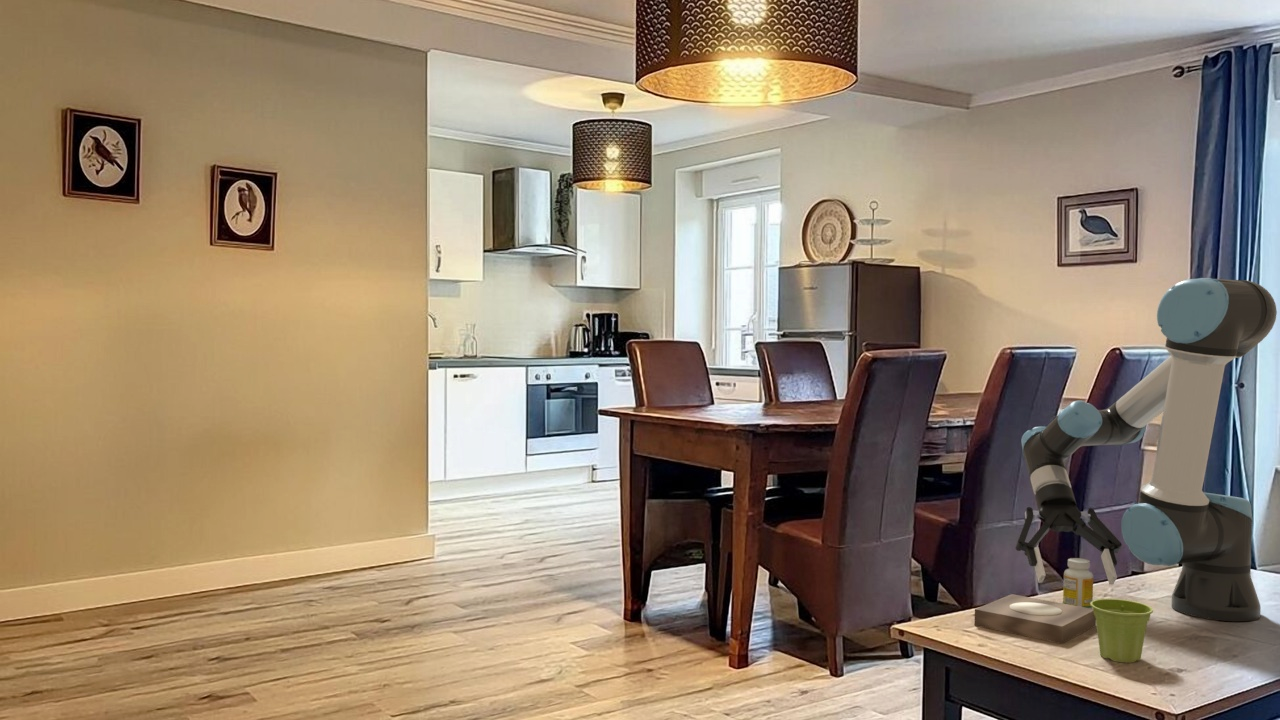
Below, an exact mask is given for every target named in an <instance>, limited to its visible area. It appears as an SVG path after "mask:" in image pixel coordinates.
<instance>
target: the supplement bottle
mask: <svg viewBox="0 0 1280 720" xmlns="http://www.w3.org/2000/svg"><path fill="white" fill-rule="evenodd" d="M1067 567H1068V568H1066V569H1065V570H1064V572H1063V585H1062V587H1063V588H1062V589H1063V590H1062V591H1063V592H1062V603H1063V604H1069V605H1074V606H1080V607H1085V608H1091V609H1093V608H1092V607H1091V605H1090V603H1091V602H1092V601H1094V599H1093V598H1094V597H1093V596H1094V595H1093V594H1094V574H1093V572H1092V571H1090V570H1089V569H1090V568H1091V561H1090V560H1089V559H1086V558H1080V557H1070V558H1068V559H1067Z"/></svg>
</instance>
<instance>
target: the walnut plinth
mask: <svg viewBox="0 0 1280 720" xmlns="http://www.w3.org/2000/svg"><path fill="white" fill-rule="evenodd" d="M974 626H975V627H981V628H985V629H989V628H990V629H991V630H996V631H1001V632H1004V631H1005V633H1009V634H1013V635H1020V636H1024V637H1029V638H1032V639H1039V640H1043V641H1047V642H1052V643H1056V644H1057V643H1058V644H1062V645H1063V644H1064V643H1066V642H1067V641H1070V640H1072V639H1074V638H1076V637H1077V636H1080V635H1081V634H1083V633H1085V632H1087V631H1088V630H1091V629H1092V628H1094V627H1097V624H1096V617H1095V615H1094V611H1093V608H1092V609H1091V608H1085V607H1080V606H1074V605H1069V604H1063V602H1058V601H1051V600H1045V599H1041V598H1036V597H1028V596H1024V595H1020V594H1019V595H1018V594H1013V593H1012V594H1009V595H1006V596H1004V597H1001V598H998V599H997V600H994V601H991V602H989V603H987V604H984V605H981V606H979V607H977V608H974Z"/></svg>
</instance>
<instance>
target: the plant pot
mask: <svg viewBox="0 0 1280 720" xmlns="http://www.w3.org/2000/svg"><path fill="white" fill-rule="evenodd" d="M1090 605H1091V607H1092V609H1093V611H1094V615H1095V617H1096V631H1097V639H1098V645H1099V646H1098V648H1099V654H1100V656H1101V658H1104V659H1110V660H1111V661H1113V662H1115V663H1116V662H1117V663H1126V664H1132V663H1135V662H1136V661H1137V662H1138V661H1141V659H1142V654H1143V647H1144V642H1145V635H1146V631H1147V624H1148V622H1149V621H1150V618H1151V614H1153V613H1154V609H1153V607H1152V606H1150V605H1148V604H1145V603H1142V602H1138V601H1135V600H1127V599H1121V598H1120V599H1119V598H1101V599H1100V598H1099V599H1093V601H1092V602H1091V603H1090Z"/></svg>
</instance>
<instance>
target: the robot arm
mask: <svg viewBox="0 0 1280 720" xmlns="http://www.w3.org/2000/svg"><path fill="white" fill-rule="evenodd" d="M1277 313H1278V312H1277V304H1276V302H1275V299H1274V297H1273V296H1272V294H1271V292H1269V291H1268V290H1267V289H1266V288H1265V287H1264V286H1262V285H1261V284H1259V283H1257V282H1254V281H1251V280H1246V279H1221V278H1210V277H1199V278H1189V279H1184V280H1182V281H1179V282H1177V283H1175V284H1173V286H1172V287H1170V288H1169V289H1167V291H1166V292H1165V293H1164V294H1163V296H1162V298H1161V299H1160V302H1159V304H1158V306H1157V313H1156V320H1157V325H1158V327H1160V332H1161V334H1162V335H1163V336H1165V337H1166V339H1165V340H1166V341H1165V349H1166V351H1167V352H1168V353H1169V354H1170V355H1169V357H1167V358H1166V359H1165V360H1164V361H1162V362H1161V363H1160V364H1159V365H1157V367H1155V368H1154V369H1153V370H1152V371H1150V372H1149V373H1148V374H1147V375H1145V377H1144V378H1142V379H1141V380H1140V381H1138V383H1136V384H1135V385H1134V386H1133V387H1132V388H1131V389H1130V390H1127V391H1126V393H1125V394H1124V395H1122V396H1121V397H1120V398H1119V399H1117V400H1116V402H1114V403H1113V404H1112V405H1111V406H1109V407H1108V408H1105V409H1097V408H1096V406H1094V405H1093V404H1092V403H1090V402H1087V403H1086V402H1085V401H1084V400H1074V401H1072V402H1070V404H1069V405H1068V406H1066V407H1065V408H1063V409H1062V410H1061V411H1060V412H1059V414H1058V415H1056V416H1055V418H1054V419H1053V420H1052V421H1051V422H1049V424H1047V426H1034V427H1033V428H1032V429H1028V430H1027V431H1025V432H1024V433H1023V435H1022V436H1021V441H1020V442H1021V448H1022V456H1023V458H1024V461H1025V465H1026V467H1027V468H1026V469H1027V471H1028V476H1029V479H1030V483H1031V488H1032V491H1033V494H1034V497H1035V503H1036V506H1037V510H1034V509H1033V508H1032V507H1030V506H1028V507H1026V509H1025V512H1024V514H1023V519H1024V524H1023V527H1022V528H1021V531H1020V534H1019V536H1018V540H1017V543H1016V545H1015V550H1016V551H1017V552H1021V551H1022V552H1023V554H1024V555H1025V556H1026V557H1027V561H1028V564H1029V566H1030V567H1034V569H1035V574H1036V578H1037V582H1038V584H1042V583H1043V582H1044V580H1045V578H1046V572H1045V567H1044V564H1043V560H1042V555H1041V551H1040V547H1039V546H1038V545H1039V543H1040V542H1041V541H1042V540H1043V538H1045V535H1047V534H1048V533H1049V532H1050V530H1052V531H1053V532H1055V533H1058V532H1064V533H1070V532H1072V533H1074V534H1075V535H1076V536H1079V537H1081V538H1082V539H1084V540H1085V541H1087V542H1088V543H1089V544H1091V546H1093V547H1094V548H1096V549H1097V550H1098V551H1099V552H1100V553H1101V555H1100V558H1101V561H1102V565H1103V568H1104V572H1105V575H1106V578H1107V581H1108V585H1114V584H1115V583H1116V580H1117V578H1118V576H1117V573H1116V572H1117V571H1116V569H1115V568H1116V566H1117V565H1118V564H1117V563H1118V560H1117V558H1116V555H1115V554H1118V552H1119V551H1120V549H1121V547H1122V542H1121V541H1120V540H1119V539H1118V537H1116V535H1114V533H1112V532H1111V530H1109V528H1108V527H1107V526H1106V525H1105V524H1104V523H1103V522H1102V520H1101V519H1100V518H1099V517H1098V516H1097V513H1096V511H1095V509H1094V508H1091V507H1090V508H1088V510H1086V511H1085V510H1084V511H1080V510H1079V508H1078V507H1077V502H1076V498H1075V494H1074V491H1073V489H1072V485H1071V481H1070V478H1069V475H1068V471H1067V468H1066V465H1065V461H1066V460H1067V459H1068V458H1069V457H1071V456H1072V455H1073V454H1074V453H1075V452H1077V450H1078V449H1079V448H1081V447H1091V446H1107V445H1109V446H1111V445H1112V446H1113V445H1115V446H1117V445H1118V446H1125V445H1128V444H1134V443H1136V442H1138V441H1140V440H1141V439H1142V438H1143V437H1144V434H1145V432H1146V428H1147V425H1148V424H1149V423H1151V422H1152V421H1153V420H1154V419H1156V418H1157V417H1158V416H1160V415H1162V417H1161V423H1160V426H1159V427H1160V428H1159V429H1160V430H1159V435H1158V439H1157V445H1156V451H1155V457H1154V463H1153V469H1152V475H1151V479H1150V481H1149V482H1147V483H1145V484H1144V485H1142V486H1141V487H1140V490H1139V491H1140V492H1139V495H1138V502H1137V503H1134V504H1133V505H1131V506H1130V507H1129V508H1127V509H1126V510H1125V512H1123V515H1122V518H1121V523H1120V528H1121V535H1122V538H1123V541H1124V543H1125V545H1127V546H1128V549H1129V551H1130V552H1131V554H1132V555H1133V556H1135V558H1136V559H1138V560H1139V561H1141V562H1143V563H1144V564H1148V565H1151V566H1166V567H1170V566H1174V565H1179V564H1181V565H1182V567H1181V571H1180V574H1179V576H1178V579H1177V580H1176V584H1175V587H1174V589H1173V591H1172V594H1171V608H1172V609H1174V610H1175V611H1177V612H1180V613H1182V614H1185V615H1189V616H1192V617H1197V618H1202V619H1208V620H1214V621H1215V620H1216V621H1225V622H1249V621H1256V620H1259V619H1260V618H1261V603H1260V600H1259V597H1258V593H1257V591H1256V589H1255V585H1254V582H1253V579H1252V576H1251V575H1252V572H1251V567H1252V566H1251V565H1252V526H1253V525H1252V524H1253V520H1254V518H1253V514H1252V511H1253V510H1252V504H1251V503H1250V501H1249V500H1248V499H1246V498H1244V497H1237V496H1234V495H1233V496H1232V495H1226V494H1225V495H1224V494H1219V493H1217V494H1216V493H1210V492H1206V491H1205V492H1204V491H1203V487H1204V486H1203V485H1204V480H1205V476H1206V470H1207V466H1208V460H1209V454H1210V448H1211V445H1212V444H1211V443H1212V438H1213V432H1214V427H1215V426H1214V425H1215V420H1216V416H1217V411H1218V405H1219V401H1220V400H1219V399H1220V394H1221V390H1222V389H1221V388H1222V383H1223V378H1224V372H1225V367H1226V365H1227V364H1228V363H1230V362H1232V360H1234V359H1235V358H1237V359H1238V358H1243V356H1245V355H1246V354H1248V353H1249V352H1250V351H1252V350H1253V348H1255V347H1256V346H1258V344H1260V343H1262V341H1263V340H1264V339H1265V338H1266V337H1267V336H1268V335H1269V334H1270V332H1271V331H1272V329H1273V328H1274V325H1275V322H1276V320H1277V315H1278V314H1277ZM1037 518H1038V519H1039V520H1040V521H1041V522H1042V525H1041V526H1040V527H1039V529H1038V530H1037V532H1035V534H1034V535H1033V537H1032V538H1031V539H1030V541H1028V542H1026V539H1027V536H1028V534H1029V531H1030V528H1031V525H1032V522H1034V521H1035V520H1036V519H1037ZM1087 524H1088V525H1087Z"/></svg>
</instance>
